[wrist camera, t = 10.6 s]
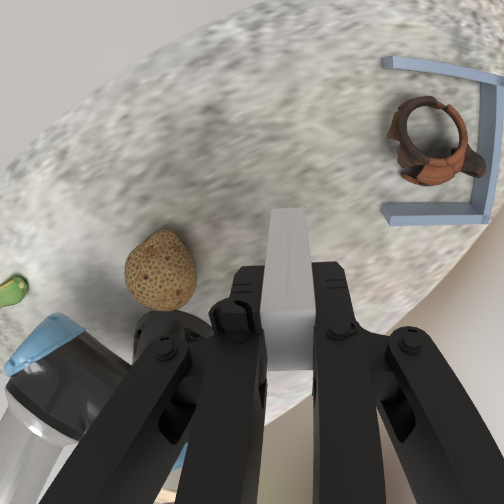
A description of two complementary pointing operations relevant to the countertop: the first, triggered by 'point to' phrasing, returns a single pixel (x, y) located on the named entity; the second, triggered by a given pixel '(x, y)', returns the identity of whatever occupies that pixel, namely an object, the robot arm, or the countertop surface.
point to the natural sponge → (161, 272)
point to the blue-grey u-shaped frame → (489, 147)
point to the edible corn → (12, 291)
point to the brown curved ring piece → (433, 168)
